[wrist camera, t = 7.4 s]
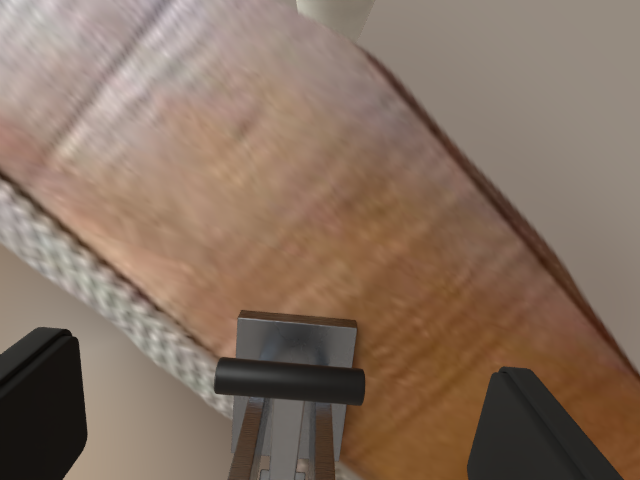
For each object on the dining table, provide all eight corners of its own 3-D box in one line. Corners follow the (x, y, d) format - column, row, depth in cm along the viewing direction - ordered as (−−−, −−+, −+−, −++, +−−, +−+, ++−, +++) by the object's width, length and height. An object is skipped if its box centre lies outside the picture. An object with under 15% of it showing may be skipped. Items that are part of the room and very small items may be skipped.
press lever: (225, 336, 14) (207, 395, 12) (363, 348, 14) (367, 408, 12) (233, 493, 21) (223, 548, 19) (327, 500, 21) (327, 555, 19)
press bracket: (240, 309, 27) (185, 438, 16) (355, 320, 27) (382, 453, 16) (234, 441, 30) (183, 629, 19) (338, 448, 30) (350, 639, 19)
